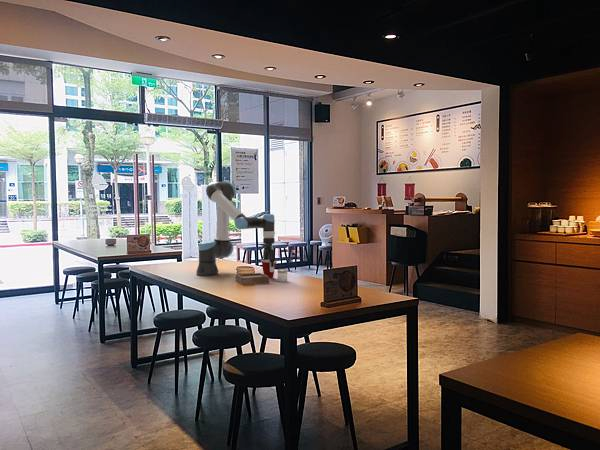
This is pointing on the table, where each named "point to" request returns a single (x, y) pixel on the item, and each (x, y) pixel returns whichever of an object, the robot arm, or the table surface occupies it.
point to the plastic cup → (268, 268)
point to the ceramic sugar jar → (282, 275)
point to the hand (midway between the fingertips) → (269, 270)
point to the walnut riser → (252, 278)
